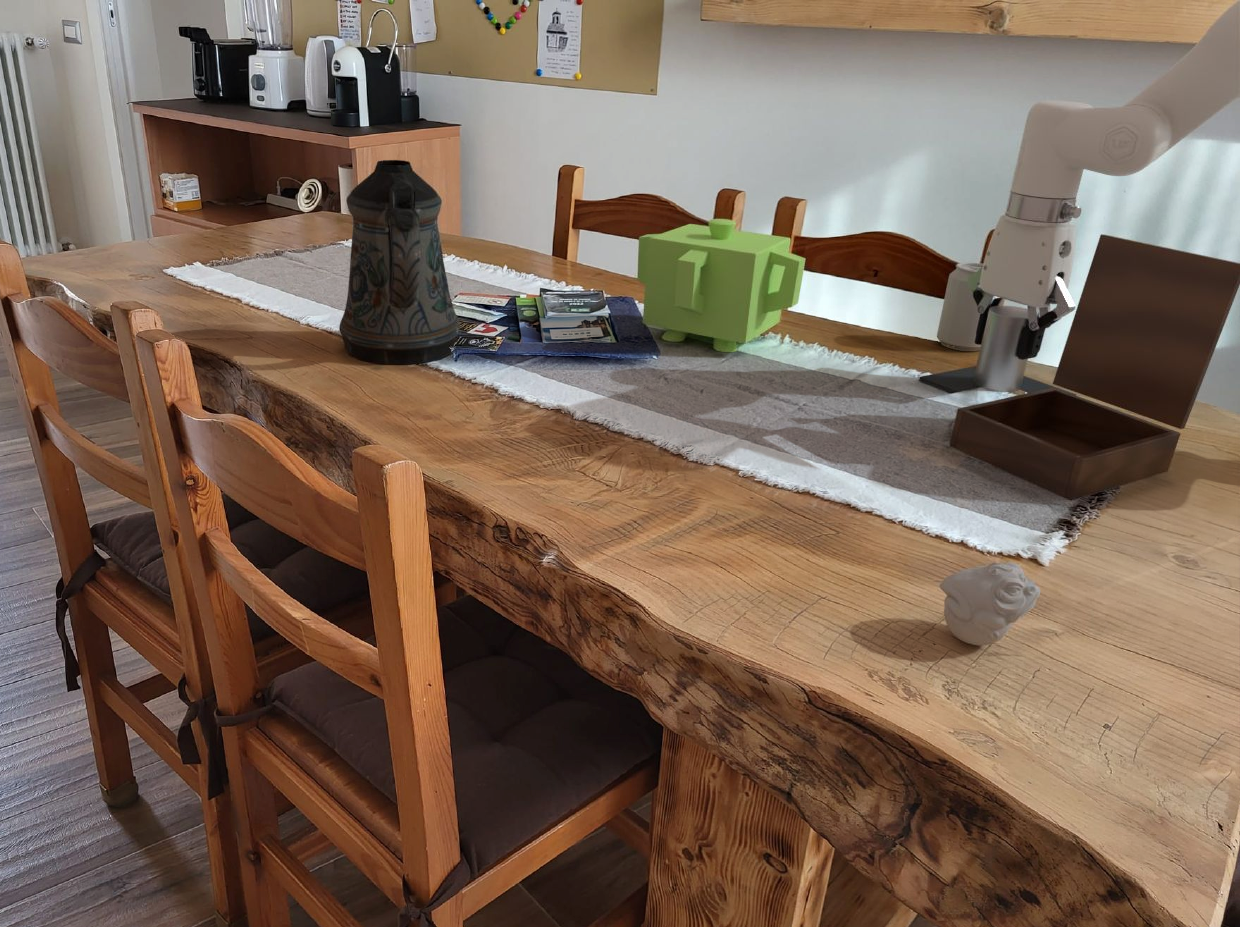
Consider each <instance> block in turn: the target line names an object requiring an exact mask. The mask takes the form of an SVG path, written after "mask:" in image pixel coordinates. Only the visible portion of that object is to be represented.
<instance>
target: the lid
mask: <svg viewBox="0 0 1240 927" xmlns="http://www.w3.org/2000/svg"><path fill="white" fill-rule="evenodd" d="M1239 288H1240V262H1237V261H1233V260H1228V259H1222V258H1218V257H1213V256H1208V255H1204V254H1199V253H1195V252H1190V251H1185V250H1180V249H1175V248H1171V247H1167V246H1166V247H1165V246H1160V245H1156V244H1152V243H1147V242H1142V241H1137V240H1133V239H1128V238H1124V237H1118V236H1114V235H1108V234H1102V233H1100V235H1099V239H1098V242H1097V245H1096V248H1095V250H1094V254H1093V257H1092V261H1091V264H1090V266H1089V269H1088V272H1087V275H1086V279H1085V281H1084V285H1083V287H1082V291H1081V294H1080V297H1079V300H1078V303H1077V307H1076V309H1075V313H1074V315H1073V319H1072V322H1071V325H1070V329H1069V331H1068V334H1067V338H1066V341H1065V345H1064V347H1063V350H1062V354H1061V357H1060V359H1059V363H1058V366H1057V369H1056V372H1055V376H1054V378H1053V381H1052V385H1053V386H1057V387H1060V388H1061V389H1064V390H1067V391H1071V392H1074V393H1077V394H1079V395H1082V396H1086V397H1089V398H1090V399H1094V400H1097V401H1099V402H1102V403H1105V404H1107V405H1111V406H1113V407H1116V408H1120V409H1122V410H1125V411H1127V412H1130V413H1133V414H1136V415H1139V416H1142V417H1144V418H1147V419H1150V420H1153V421H1156V422H1158V423H1161V424H1165V425H1168V426H1170V427H1173V428H1176V429H1178V430H1183V429H1185V428H1186V425H1187V423H1188V420H1189V417H1190V415H1191V412H1192V410H1193V407H1194V404H1195V402H1196V399H1197V397H1198V394H1199V392H1200V389H1201V387H1202V384H1203V381H1204V379H1205V376H1206V373H1207V371H1208V368H1209V366H1210V363H1211V361H1212V358H1213V355H1214V352H1215V350H1216V347H1217V345H1218V342H1219V340H1220V337H1221V335H1222V332H1223V329H1224V327H1225V324H1226V321H1227V319H1228V317H1229V314H1230V312H1231V308H1232V306H1233V303H1234V301H1235V299H1236V295H1237V293H1238V290H1239Z"/></svg>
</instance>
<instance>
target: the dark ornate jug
mask: <svg viewBox="0 0 1240 927" xmlns="http://www.w3.org/2000/svg"><path fill="white" fill-rule="evenodd" d="M442 205H443V200H442V198H441V196H440V195H439V193H438V192H437V190H436V189H435V188H433V187H432V186H431V185H430V184H429V183H428V182H427V181H425V180H424V179H423V178H422V177H421V176H420V175H419V174H418V173H417V172H415V171H414V169H413V167H412V164H411V162H410V161H409V160H408V161H407V160H403V159H402V160H401V159H384V160H378V161H377V162H376V165H375V168H374V169H373V171H372V172H371V173H370V174H369V175H368V176H367V177H366V178H364V179H363V180H362V181H360V183H358V184H357V185H356V186H355V187H354V188H353V189H352V190H351V191H350V193H349V194H348V196H347V197H346V206H347V209H348V212H349V213H350V215H351V216H352V234H351V248H350V260H349V276H348V286H347V297H346V303H345V307H344V308H345V309H344V311H343V315H342V317H341V320H340V323H339V327H338V330H339V333H340V335H341V338H342V341H343V345H344V349H345V351H346V353H347V354H348V356H350V357H351V358H354V359H355V360H359V361H361V362H362V361H363V362H367V363H371V364H376V365H391V366H392V365H393V366H394V365H396V366H408V365H420V364H426V363H431V362H436V361H440V360H443V359H445V358H448V357H449V356H451V355H453V354H454V353H455V351H454V350H453V351H452V352H451V349H450V348H449V347H450V346H451V345H452V344H453V343H454V342H455V341H456V340H457V338H458V339H459V335H460V330H461V326H460V321H459V318H458V315H457V314H456V311H455V308H454V305H453V300H452V297H451V292H450V289H449V283H448V277H447V273H446V267H445V262H444V261H445V260H444V254H443V249H442V248H443V247H442V243H441V238H440V231H439V225H438V217H439V215H440V212H441V209H442V208H441V207H442Z"/></svg>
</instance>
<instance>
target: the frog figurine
mask: <svg viewBox="0 0 1240 927" xmlns="http://www.w3.org/2000/svg"><path fill="white" fill-rule="evenodd" d="M939 588H940V590H941V591H942V592H943V593H944V594H945V595H946V597H944V603H943V605H944V606H943V607H944V608H943V614H944V620H945V624H946V626H947V628H948V629H949V630H950V632H951V634H953V635H954V636H955V638H957V639H958V640H960V641H962V642H964V643H966V644H969V645H973V646H987V645H988V646H989V645H992V644H994V643H997V642H998V641H1000V640H1002V639H1003V638H1004V637H1005V636H1006V635H1007V634H1008V633H1009V631H1010V630H1011V628H1012V625H1013V624H1015V623H1017V622H1018V621H1019V620H1020V619H1021V618H1023V617H1024V616H1025V615H1027V614H1028V612H1030V611H1031V610H1033V609H1034V607H1035V606H1036V602H1037V599H1038V598H1039V597H1040V595H1041V588H1040V586H1038V585H1037V584H1036V583H1035V581H1034V580H1033V579H1032V578H1030V577H1026V576H1025V573H1024V571H1023V568H1022V567H1021V566H1020V565H1019V564H1018V563H1016V562H1014V561H1013V562H1012V561H1004V562H998V561H993V562H990V563H989V564H988V565H979V566H975V567H969V568H965V569H962V570H960V571H959V570H958V571H957V572H954V573H952V574H950V575H949V576H947V577H945V578H944V579H943V580H942V581H941V583H940V584H939Z"/></svg>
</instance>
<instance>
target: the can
mask: <svg viewBox="0 0 1240 927" xmlns="http://www.w3.org/2000/svg"><path fill="white" fill-rule="evenodd" d="M955 267H956V268H955V269H954V270H953V271H952V272H950V273H949V275H948V280H947V285H946V289H945V293H944V294H945V295H944V298H943V303H942V308H941V314H940V318H939V321H938V322H939V323H938V328H937V333H936V338H937V340H938V341H939V342H940V344H941V345H942V346H943V347H946V348H948V349H952V350H955V351H961V352H976V351H977V352H978V351H980V347H981V345H978V344H975V338H976V330H977V326H978V322H979V317H980V314H979V313H978V312H977V307H978V306H977V304H976V302H975V300H974V298H973V292H972V291H971V289H970V287H969V285H968V283H967V279H968V278H969V277H970V276H971V275H973V274H974V273H975V272H977V271H978V270H979V269H980V268H982V267H983V263H982V262H959V263H956V265H955ZM948 345H949V346H948ZM953 346H954V347H953Z"/></svg>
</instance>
